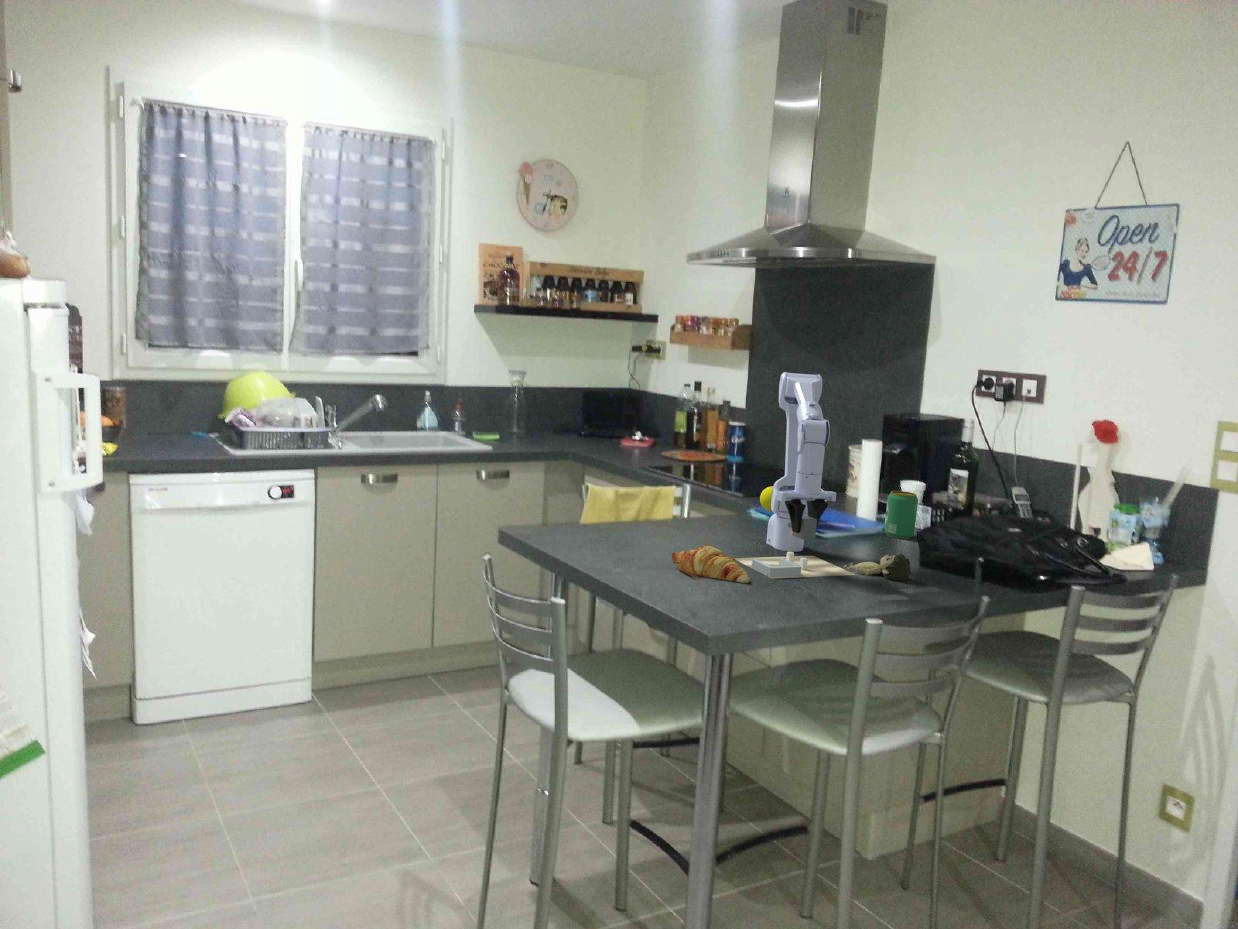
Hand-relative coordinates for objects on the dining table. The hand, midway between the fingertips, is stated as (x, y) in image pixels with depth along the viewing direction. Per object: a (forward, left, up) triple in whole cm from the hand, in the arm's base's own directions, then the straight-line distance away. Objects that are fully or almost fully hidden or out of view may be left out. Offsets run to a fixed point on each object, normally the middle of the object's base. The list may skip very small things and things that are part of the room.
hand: (803, 531), depth 230 cm
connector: (-2, 0, -1) cm, 2 cm away
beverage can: (-30, +51, -9) cm, 60 cm away
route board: (0, -2, -9) cm, 9 cm away
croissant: (+1, -24, -9) cm, 26 cm away
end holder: (+3, -9, -8) cm, 12 cm away
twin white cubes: (-1, -1, -8) cm, 8 cm away
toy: (-50, +29, -9) cm, 58 cm away
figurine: (+8, +15, -9) cm, 20 cm away
